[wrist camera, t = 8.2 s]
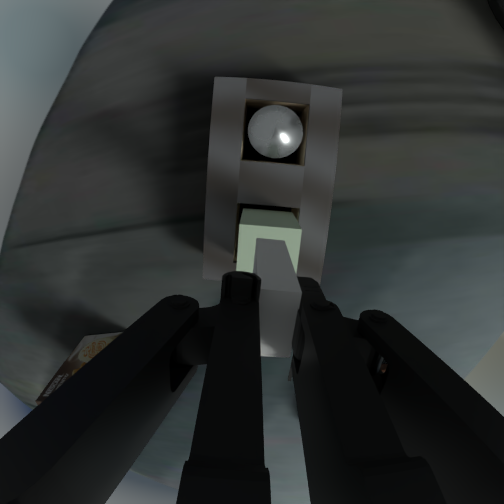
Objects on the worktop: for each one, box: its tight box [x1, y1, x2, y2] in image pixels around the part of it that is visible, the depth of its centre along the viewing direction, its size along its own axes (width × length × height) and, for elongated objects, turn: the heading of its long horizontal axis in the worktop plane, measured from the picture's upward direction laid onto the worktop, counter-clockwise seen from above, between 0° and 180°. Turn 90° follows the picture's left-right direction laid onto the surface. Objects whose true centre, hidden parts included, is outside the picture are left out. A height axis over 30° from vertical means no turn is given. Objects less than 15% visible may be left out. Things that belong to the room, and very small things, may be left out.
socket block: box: [203, 77, 342, 286], centre depth 33 cm, size 20×12×7 cm, turn 176°
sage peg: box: [236, 208, 302, 273], centre depth 29 cm, size 5×5×7 cm
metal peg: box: [248, 105, 303, 158], centre depth 31 cm, size 5×5×7 cm
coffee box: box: [36, 332, 122, 405], centre depth 37 cm, size 9×6×16 cm
